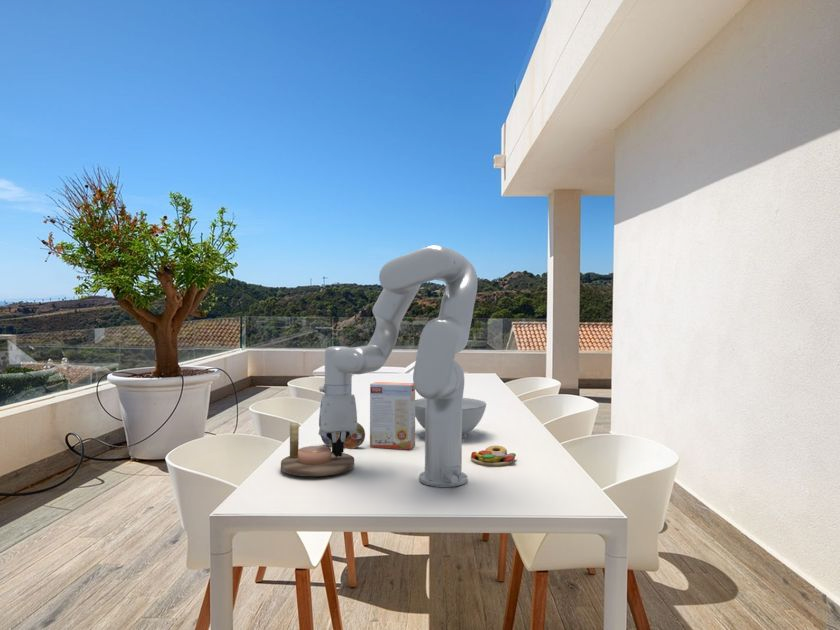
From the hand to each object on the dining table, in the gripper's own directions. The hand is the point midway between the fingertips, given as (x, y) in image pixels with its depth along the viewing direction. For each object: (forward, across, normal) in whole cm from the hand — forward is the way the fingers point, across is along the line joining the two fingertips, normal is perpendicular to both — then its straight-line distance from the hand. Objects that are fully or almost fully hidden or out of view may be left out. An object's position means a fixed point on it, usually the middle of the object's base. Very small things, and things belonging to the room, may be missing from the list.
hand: (337, 455), depth 150 cm
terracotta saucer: (+1, -6, 0) cm, 7 cm away
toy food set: (+4, +44, -10) cm, 46 cm away
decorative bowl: (+4, +46, +25) cm, 53 cm away
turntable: (+3, -6, 0) cm, 6 cm away
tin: (+4, +8, +23) cm, 24 cm away
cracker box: (+4, +22, +17) cm, 28 cm away
